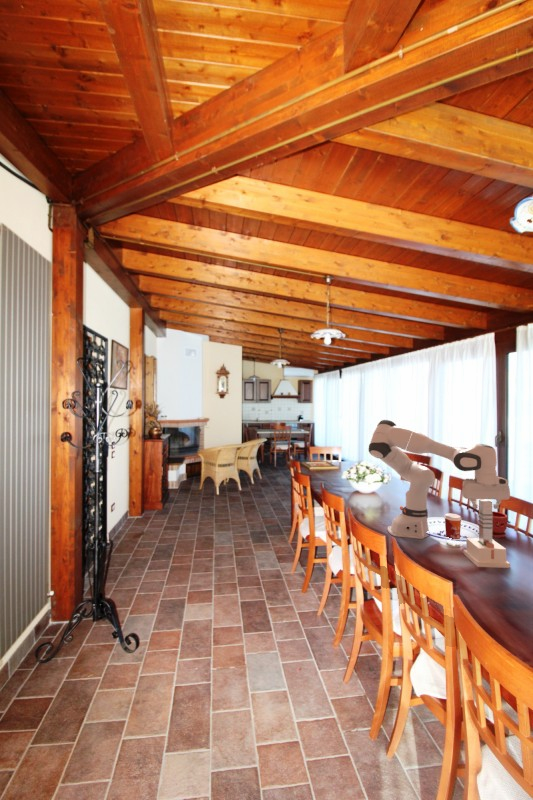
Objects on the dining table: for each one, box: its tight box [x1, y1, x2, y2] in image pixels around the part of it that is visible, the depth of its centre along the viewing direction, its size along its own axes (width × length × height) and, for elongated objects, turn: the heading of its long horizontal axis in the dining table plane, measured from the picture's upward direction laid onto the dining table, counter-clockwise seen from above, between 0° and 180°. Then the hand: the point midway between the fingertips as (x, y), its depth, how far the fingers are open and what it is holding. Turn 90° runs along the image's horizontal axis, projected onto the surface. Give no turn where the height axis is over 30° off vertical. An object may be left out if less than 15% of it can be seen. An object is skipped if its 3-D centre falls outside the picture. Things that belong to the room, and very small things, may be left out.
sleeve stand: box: [462, 537, 511, 569], centre depth 171 cm, size 14×14×10 cm
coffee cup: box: [443, 513, 462, 540], centre depth 191 cm, size 8×8×15 cm
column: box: [478, 499, 493, 546], centre depth 171 cm, size 4×4×22 cm
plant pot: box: [492, 510, 509, 539], centre depth 203 cm, size 13×13×12 cm
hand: (485, 508), depth 171 cm, fingers open, 8 cm apart
